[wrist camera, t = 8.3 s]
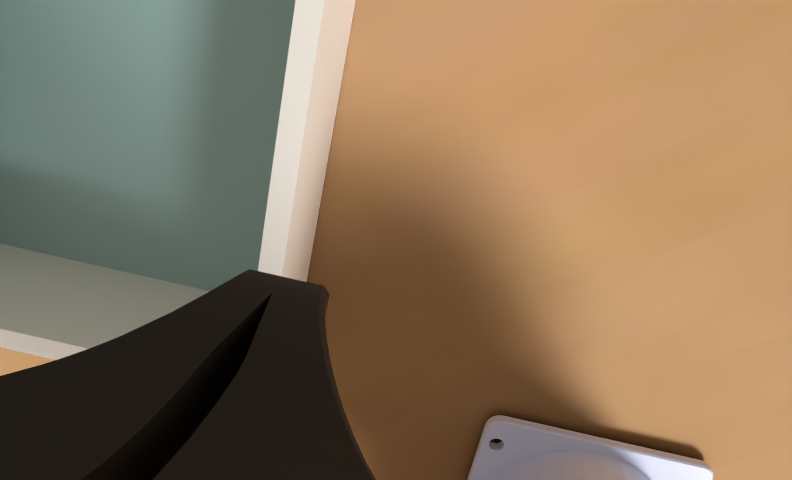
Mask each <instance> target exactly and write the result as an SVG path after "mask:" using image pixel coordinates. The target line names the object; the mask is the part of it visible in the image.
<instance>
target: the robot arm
mask: <svg viewBox="0 0 792 480" xmlns="http://www.w3.org/2000/svg"><path fill="white" fill-rule="evenodd" d="M328 298H329V293H328V291H327V290H326V288H325V287H324V286H322V285H317V284H313V283H309V282H304V281H300V280H295V279H291V278H286V277H282V276H278V275H273V274H269V273H264V272H260V271H256V270H251V269H249V270H247V271H245V272H243V273H241V274H239V275H237V276H236V277H234V278H232V279H230V280H229V281H227V282H225V283H223V284H222V285H220V286H218V287H216V288H215V289H213V290H211V291H209V292H208V293H206V294H204V295H202V296H200V297H199V298H197V299H195V300H193V301H191V302H189V303H188V304H186V305H184V306H182V307H180V308H178V309H176V310H175V311H173V312H171V313H169V314H166V315H164V316H162V317H160V318H158V319H156V320H154V321H152V322H149V323H147V324H145V325H143V326H141V327H139V328H137V329H134V330H132V331H130V332H128V333H126V334H124V335H122V336H119V337H117V338H115V339H112V340H110V341H107V342H105V343H102V344H100V345H97V346H95V347H92V348H89V349H87V350H84V351H81V352H78V353H75V354H72V355H70V356H67V357H64V358H61V359H58V360H55V361H52V362H49V363H46V364H43V365H39V366H36V367H32V368H28V369H25V370H21V371H17V372H14V373H10V374H6V375H3V376H0V480H376V479H375V477H374V476H373V474H372V472H371V470H370V469H369V467H368V465H367V463H366V461H365V459H364V457H363V455H362V453H361V451H360V448H359V446H358V444H357V442H356V440H355V438H354V435H353V433H352V430H351V428H350V425H349V423H348V420H347V418H346V415H345V412H344V409H343V406H342V403H341V400H340V397H339V394H338V390H337V386H336V383H335V379H334V375H333V371H332V367H331V362H330V357H329V350H328V344H327V338H326V328H325V314H326V309H327V303H328ZM492 439H500V440H502V441H501V442H499V443H493V442H491V441H490V440H492ZM713 477H714V475H713V472H712V470H711V468H710V466H709V465H708V464H707V463H706V462H704V461H702V460H698V459H694V458H689V457H685V456H680V455H676V454H672V453H667V452H663V451H658V450H654V449H649V448H645V447H641V446H636V445H632V444H627V443H623V442H618V441H614V440H610V439H605V438H601V437H596V436H592V435H587V434H583V433H579V432H574V431H570V430H565V429H561V428H557V427H552V426H548V425H543V424H539V423H534V422H530V421H526V420H521V419H517V418H512V417H508V416H503V415H496V416H493V417H491V418H490V419H488V420H487V422H486V424H485V427H484V430H483V433H482V436H481V439H480V442H479V445H478V448H477V451H476V454H475V457H474V460H473V463H472V467H471V470H470V473H469V476H468V479H467V480H713Z"/></svg>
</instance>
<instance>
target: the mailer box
mask: <svg viewBox="0 0 792 480" xmlns="http://www.w3.org/2000/svg"><path fill="white" fill-rule="evenodd" d="M355 2H356V0H0V347H1V348H5V349H10V350H14V351H18V352H23V353H27V354H32V355H36V356H41V357H45V358H49V359H54V360H58V359H61V358H64V357H67V356H70V355H72V354H75V353H78V352H81V351H84V350H87V349H89V348H92V347H95V346H97V345H100V344H102V343H105V342H107V341H110V340H112V339H115V338H117V337H119V336H122V335H124V334H126V333H128V332H130V331H132V330H134V329H137V328H139V327H141V326H143V325H145V324H147V323H149V322H152V321H154V320H156V319H158V318H160V317H162V316H164V315H166V314H169V313H171V312H173V311H175V310H176V309H178V308H180V307H182V306H184V305H186V304H188V303H189V302H191V301H193V300H195V299H197V298H199V297H200V296H202V295H204V294H206V293H208V292H209V291H211V290H213V289H215V288H216V287H218V286H220V285H222V284H223V283H225V282H227V281H229V280H230V279H232V278H234V277H236V276H237V275H239V274H241V273H243V272H245V271H247V270H249V269H251V270H256V271H260V272H264V273H269V274H273V275H278V276H282V277H286V278H291V279H295V280H300V281H304V282H307V278H308V272H309V266H310V261H311V255H312V249H313V243H314V238H315V232H316V226H317V220H318V215H319V209H320V203H321V197H322V192H323V186H324V180H325V174H326V169H327V163H328V157H329V151H330V145H331V140H332V134H333V128H334V122H335V117H336V111H337V105H338V99H339V94H340V88H341V82H342V76H343V71H344V65H345V59H346V53H347V48H348V42H349V36H350V30H351V25H352V19H353V13H354V7H355Z"/></svg>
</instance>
